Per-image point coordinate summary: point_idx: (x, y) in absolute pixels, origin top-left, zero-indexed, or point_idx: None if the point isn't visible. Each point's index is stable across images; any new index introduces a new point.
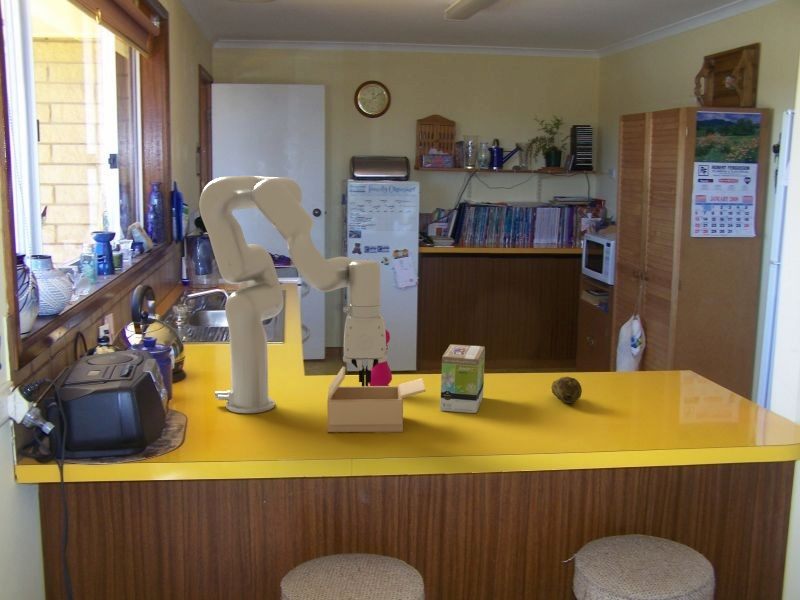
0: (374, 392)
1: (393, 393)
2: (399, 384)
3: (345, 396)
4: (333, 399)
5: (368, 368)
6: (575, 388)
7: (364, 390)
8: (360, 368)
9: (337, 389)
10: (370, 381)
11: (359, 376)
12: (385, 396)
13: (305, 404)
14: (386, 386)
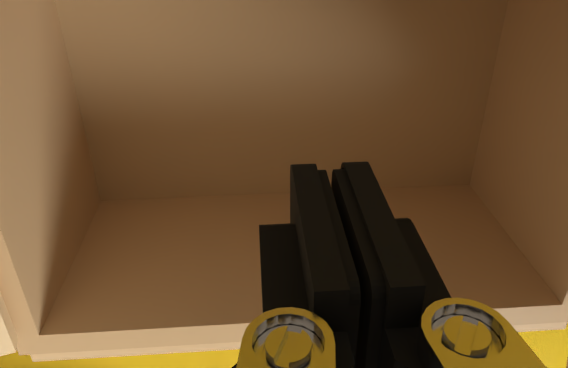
0: (232, 292)
1: (88, 294)
2: (7, 342)
3: (437, 262)
4: (508, 245)
5: (312, 342)
6: None
7: None
8: (458, 327)
9: (515, 294)
10: (266, 226)
11: (421, 255)
12: (153, 276)
13: (556, 345)
14: (135, 341)
